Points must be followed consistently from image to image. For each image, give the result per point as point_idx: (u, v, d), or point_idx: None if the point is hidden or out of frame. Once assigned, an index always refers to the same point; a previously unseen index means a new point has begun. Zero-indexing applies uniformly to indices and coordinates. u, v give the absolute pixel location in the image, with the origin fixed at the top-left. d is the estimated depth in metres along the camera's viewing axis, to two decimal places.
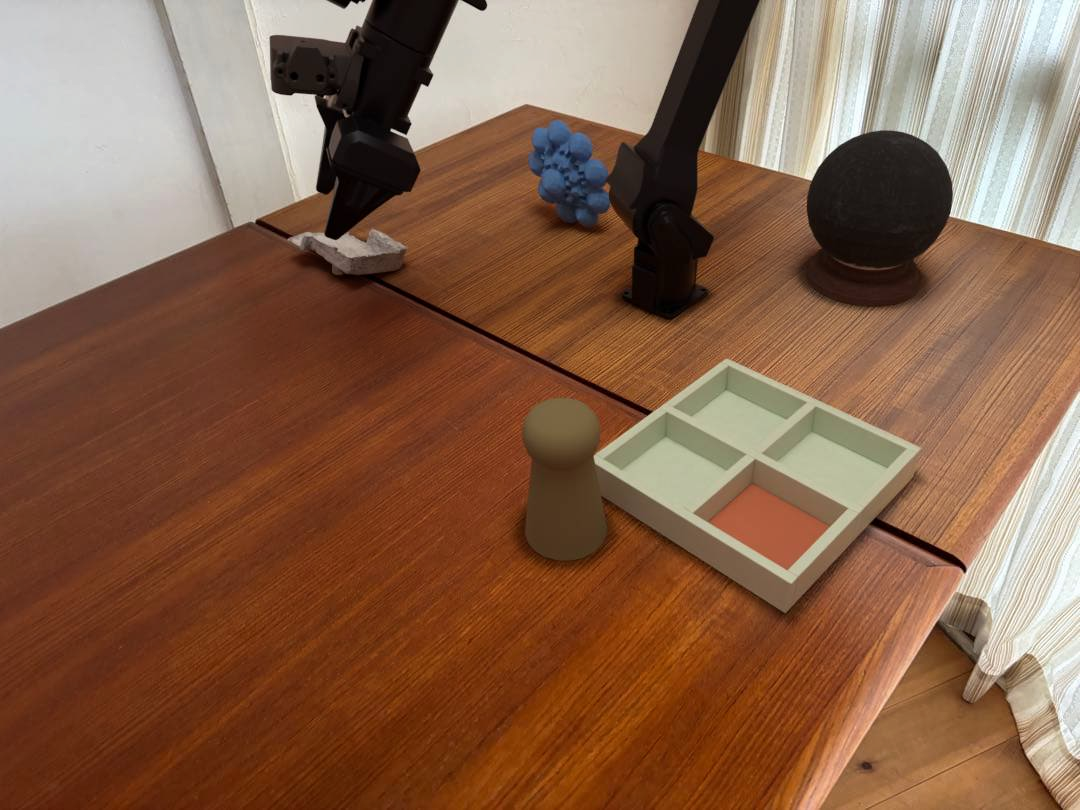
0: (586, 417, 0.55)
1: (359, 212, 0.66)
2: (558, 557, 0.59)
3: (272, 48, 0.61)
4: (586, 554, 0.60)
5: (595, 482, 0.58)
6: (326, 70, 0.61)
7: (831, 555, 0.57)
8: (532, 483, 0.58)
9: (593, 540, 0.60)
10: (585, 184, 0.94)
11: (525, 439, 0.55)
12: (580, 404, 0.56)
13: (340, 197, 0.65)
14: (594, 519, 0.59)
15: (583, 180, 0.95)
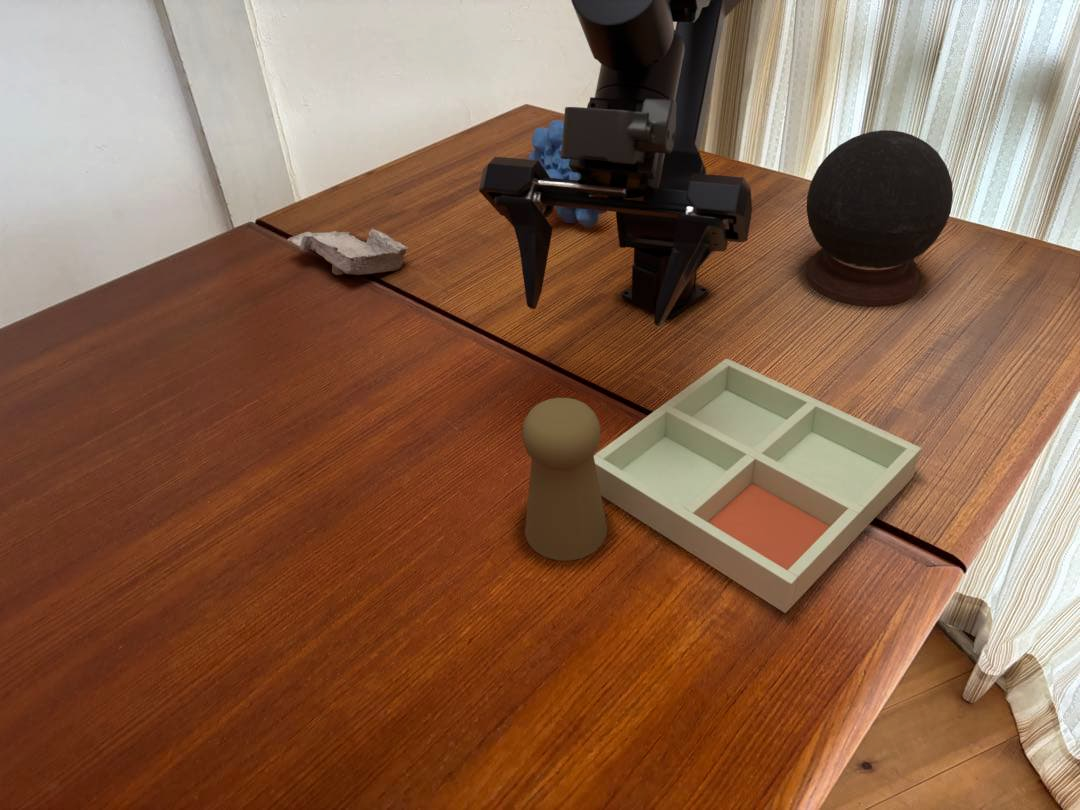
0: (586, 417, 0.55)
1: (683, 285, 0.59)
2: (558, 557, 0.59)
3: (625, 111, 0.52)
4: (586, 554, 0.60)
5: (595, 482, 0.58)
6: (674, 128, 0.54)
7: (831, 555, 0.57)
8: (532, 483, 0.58)
9: (593, 540, 0.60)
10: None
11: (525, 439, 0.55)
12: (580, 404, 0.56)
13: (686, 268, 0.57)
14: (594, 519, 0.59)
15: None
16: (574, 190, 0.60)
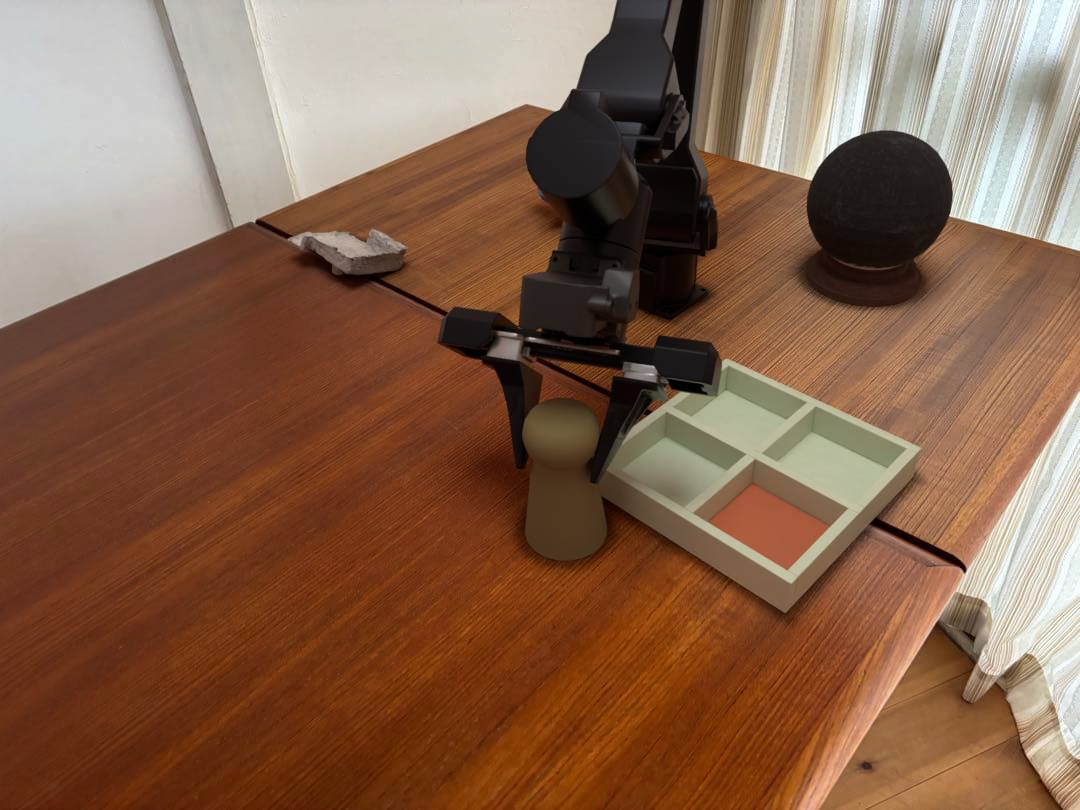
0: (587, 417, 0.55)
1: (621, 439, 0.57)
2: (558, 557, 0.59)
3: (584, 285, 0.49)
4: (586, 554, 0.60)
5: None
6: (638, 294, 0.52)
7: (831, 555, 0.57)
8: (532, 483, 0.58)
9: (593, 540, 0.60)
10: None
11: (525, 439, 0.55)
12: (580, 404, 0.56)
13: (622, 427, 0.55)
14: (594, 519, 0.59)
15: None
16: (565, 347, 0.57)
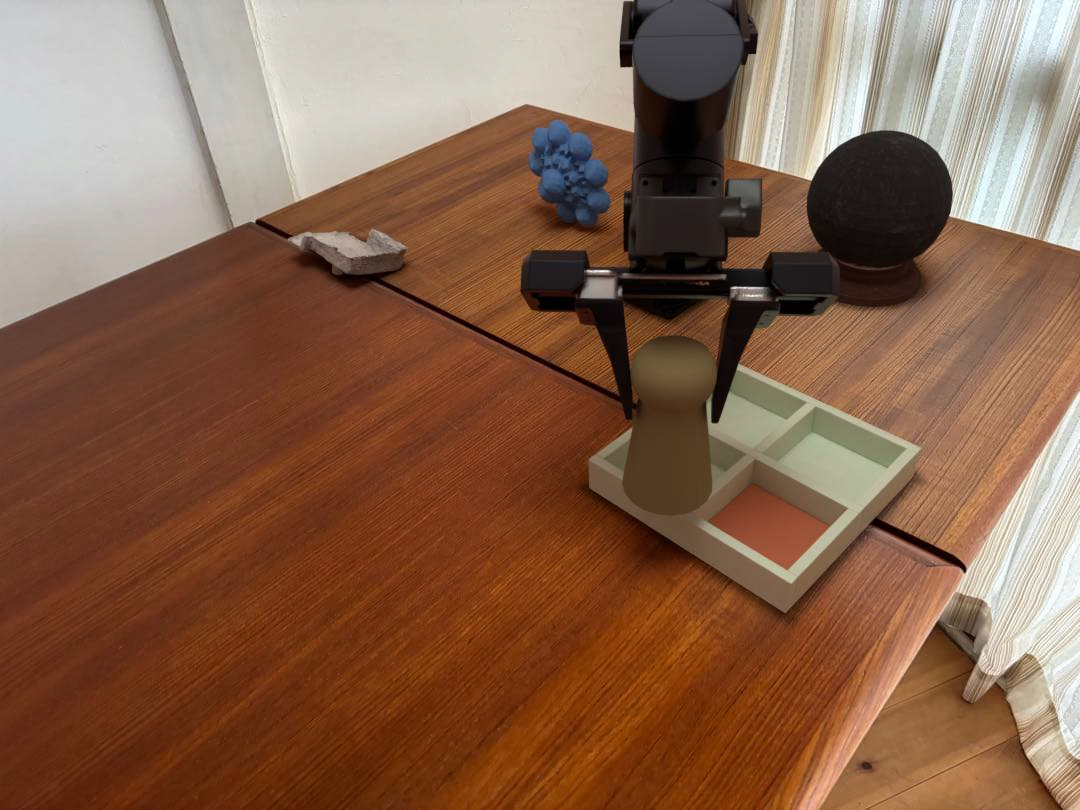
0: (704, 351, 0.50)
1: None
2: (673, 512, 0.55)
3: (715, 197, 0.44)
4: (700, 504, 0.55)
5: (707, 423, 0.53)
6: None
7: (831, 555, 0.57)
8: (642, 434, 0.53)
9: (706, 488, 0.55)
10: (585, 184, 0.94)
11: (641, 383, 0.50)
12: (690, 339, 0.51)
13: None
14: (707, 464, 0.54)
15: (583, 180, 0.95)
16: (662, 280, 0.52)
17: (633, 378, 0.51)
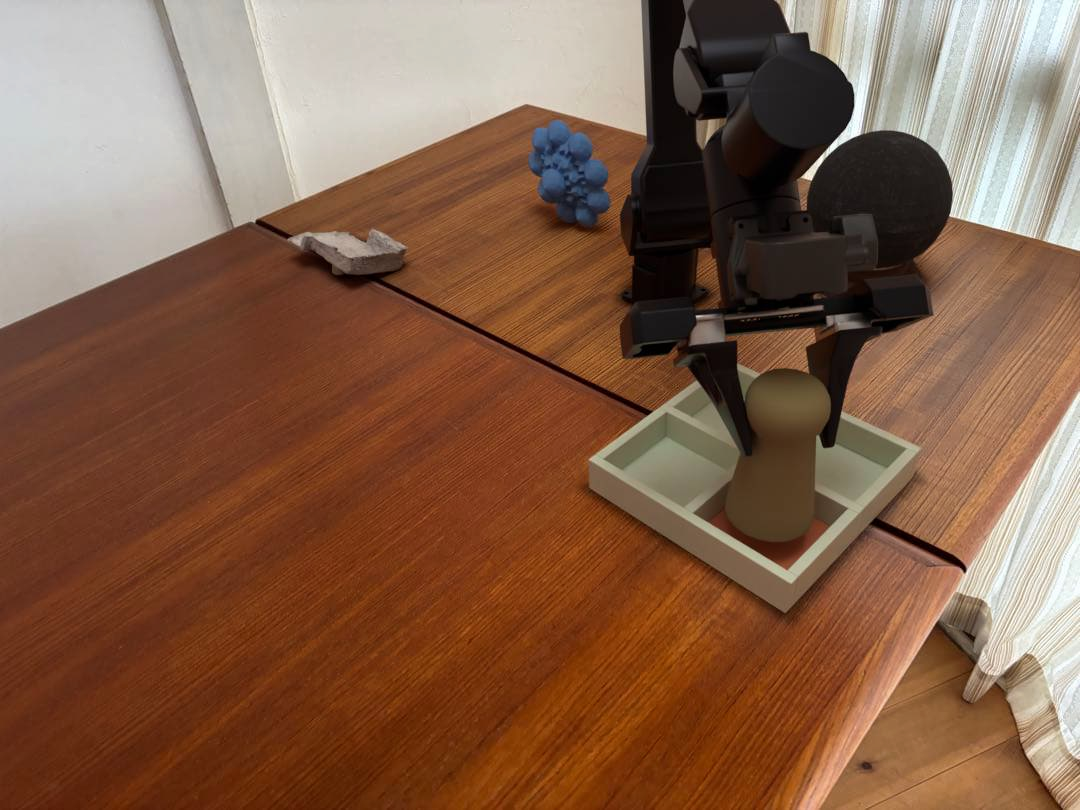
0: (816, 381, 0.52)
1: None
2: (788, 537, 0.56)
3: (840, 237, 0.46)
4: (810, 525, 0.57)
5: None
6: None
7: (831, 555, 0.57)
8: (759, 468, 0.54)
9: (813, 509, 0.57)
10: (585, 184, 0.94)
11: (766, 420, 0.51)
12: (797, 370, 0.53)
13: None
14: None
15: (583, 180, 0.95)
16: (761, 317, 0.53)
17: (754, 416, 0.52)
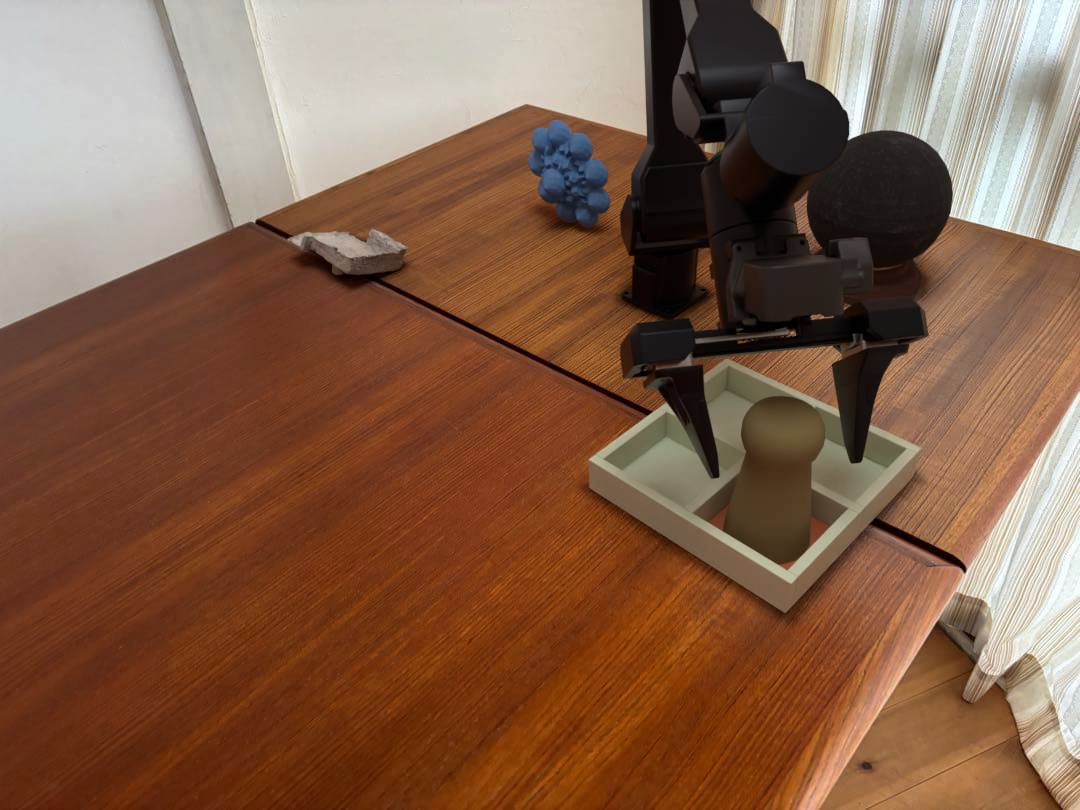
0: (811, 409, 0.53)
1: None
2: (785, 560, 0.57)
3: (836, 261, 0.47)
4: (806, 549, 0.58)
5: None
6: None
7: (831, 555, 0.57)
8: (756, 492, 0.55)
9: (809, 533, 0.58)
10: (585, 184, 0.94)
11: (762, 447, 0.52)
12: (793, 398, 0.54)
13: None
14: (810, 511, 0.58)
15: (583, 180, 0.95)
16: (728, 340, 0.54)
17: (750, 443, 0.53)
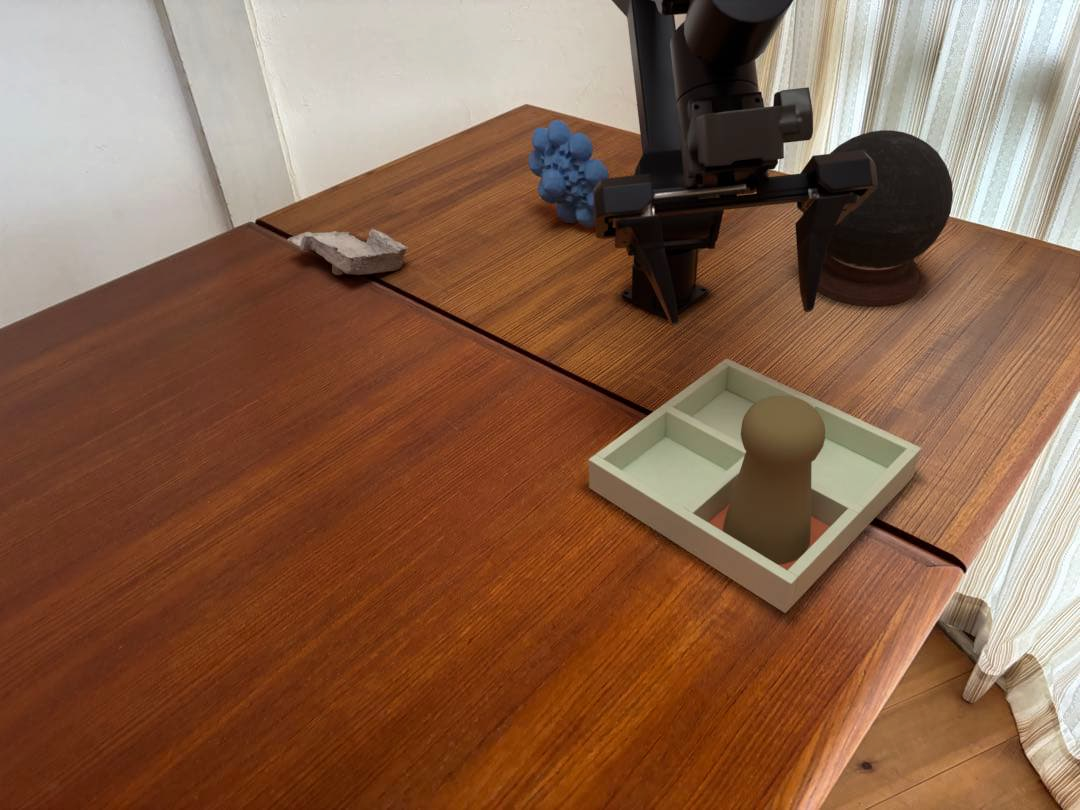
0: (811, 409, 0.53)
1: None
2: (785, 560, 0.57)
3: (774, 106, 0.51)
4: (806, 549, 0.58)
5: None
6: None
7: (831, 555, 0.57)
8: (756, 492, 0.55)
9: (809, 533, 0.58)
10: (585, 184, 0.94)
11: (761, 447, 0.52)
12: (793, 398, 0.54)
13: None
14: (810, 511, 0.58)
15: (583, 180, 0.95)
16: (689, 196, 0.58)
17: (750, 442, 0.53)
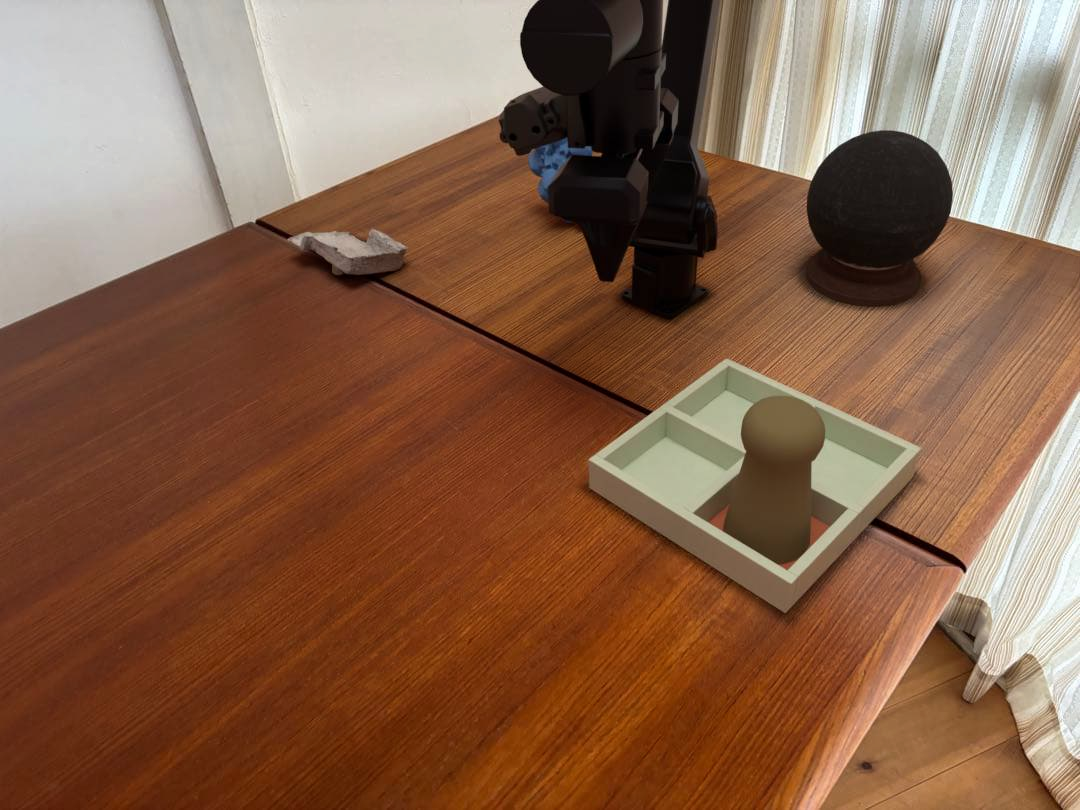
0: (811, 409, 0.53)
1: (617, 250, 0.61)
2: (785, 560, 0.57)
3: (500, 115, 0.61)
4: (806, 549, 0.58)
5: None
6: (538, 119, 0.58)
7: (831, 555, 0.57)
8: (756, 492, 0.55)
9: (809, 533, 0.58)
10: None
11: (761, 447, 0.52)
12: (793, 398, 0.54)
13: (591, 240, 0.61)
14: (810, 511, 0.58)
15: None
16: None
17: (750, 442, 0.53)
